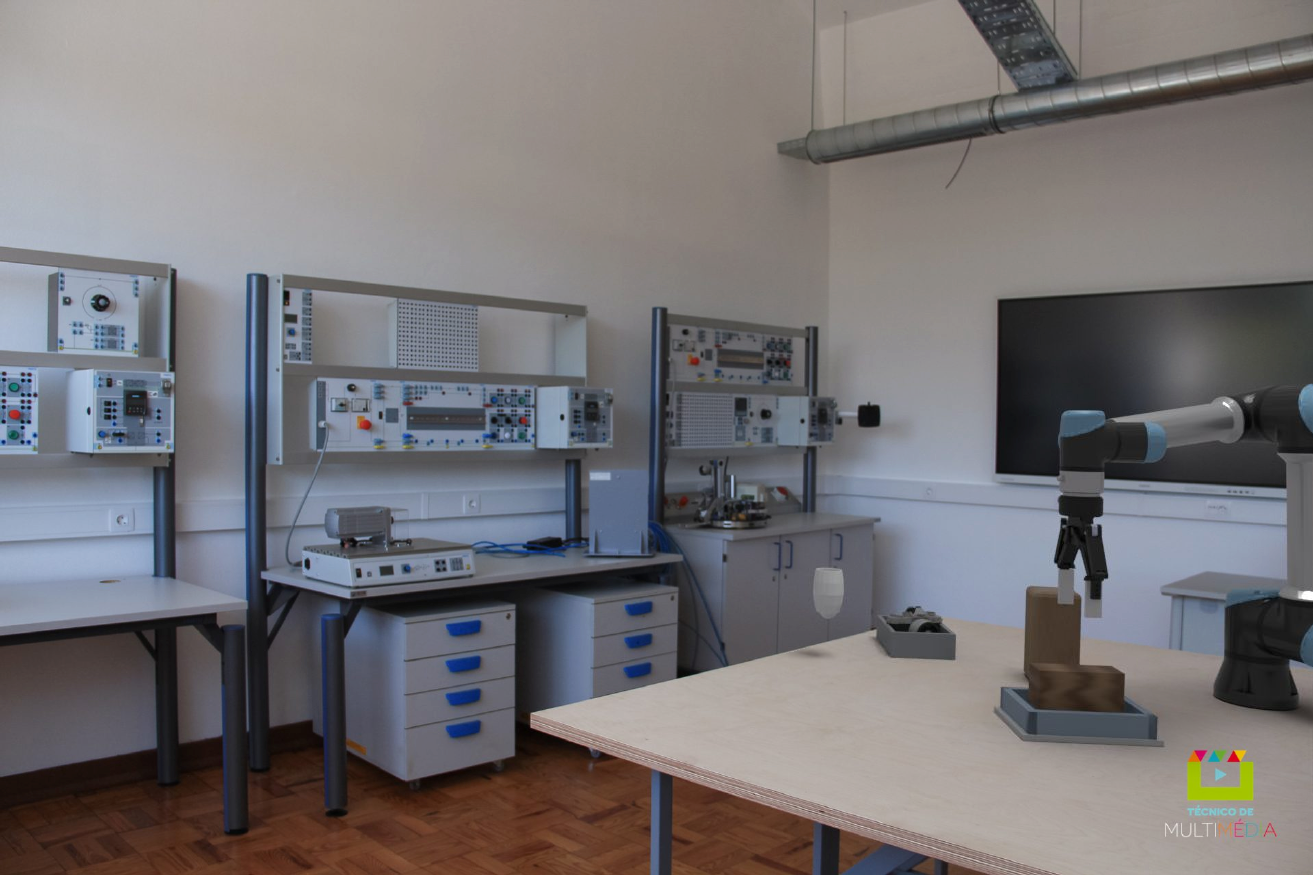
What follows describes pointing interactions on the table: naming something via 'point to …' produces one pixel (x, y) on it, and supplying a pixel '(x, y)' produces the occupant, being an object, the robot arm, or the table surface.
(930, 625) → the camera
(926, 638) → the camera corral
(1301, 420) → the robot arm
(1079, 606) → the wooden block
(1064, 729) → the peg frame
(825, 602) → the cup
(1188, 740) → the table surface
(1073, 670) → the brown wooden bar
